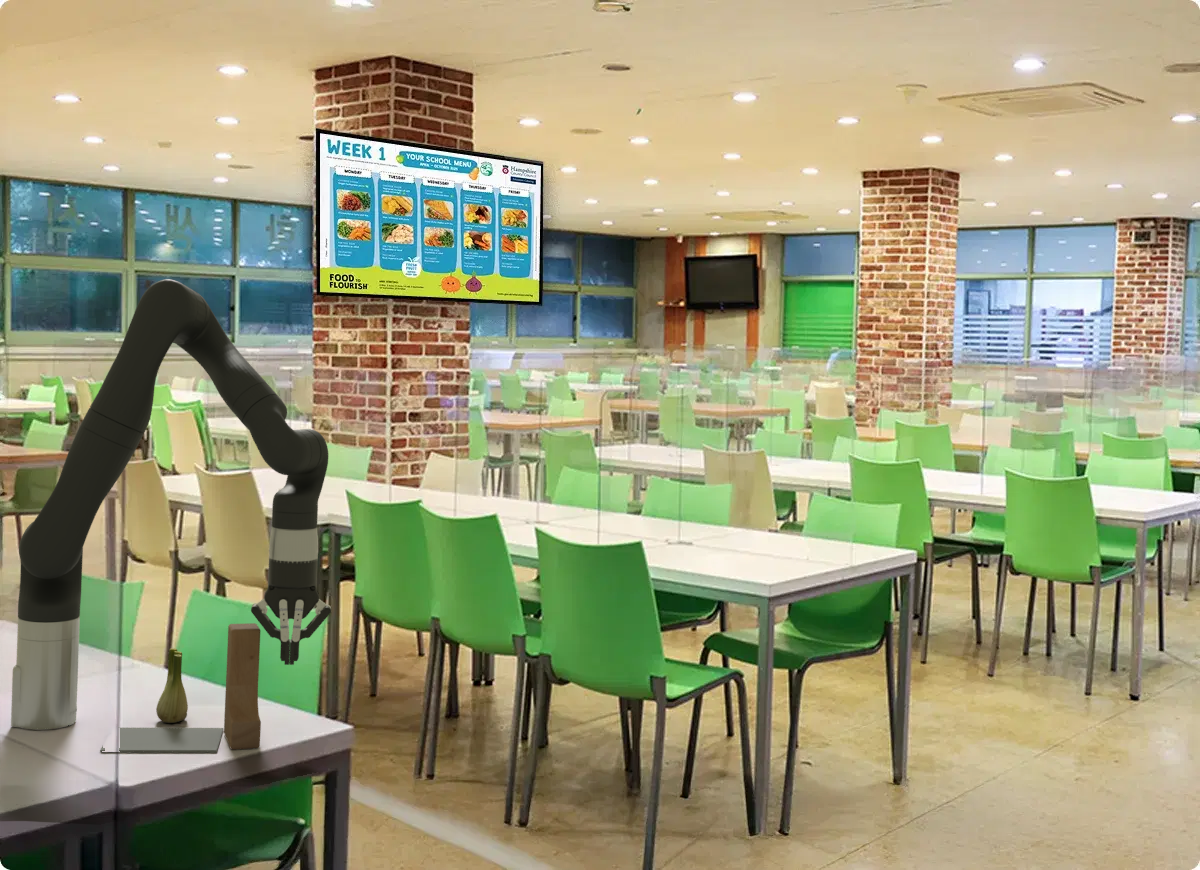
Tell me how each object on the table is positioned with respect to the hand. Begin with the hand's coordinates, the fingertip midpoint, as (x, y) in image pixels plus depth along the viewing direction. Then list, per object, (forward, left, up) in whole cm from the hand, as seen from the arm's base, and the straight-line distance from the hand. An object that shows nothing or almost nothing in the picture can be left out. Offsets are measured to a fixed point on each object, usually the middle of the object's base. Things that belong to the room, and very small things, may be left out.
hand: (289, 663), depth 214 cm
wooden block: (-7, 0, -13) cm, 15 cm away
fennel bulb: (-19, +11, -13) cm, 25 cm away
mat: (-19, 0, -13) cm, 22 cm away
